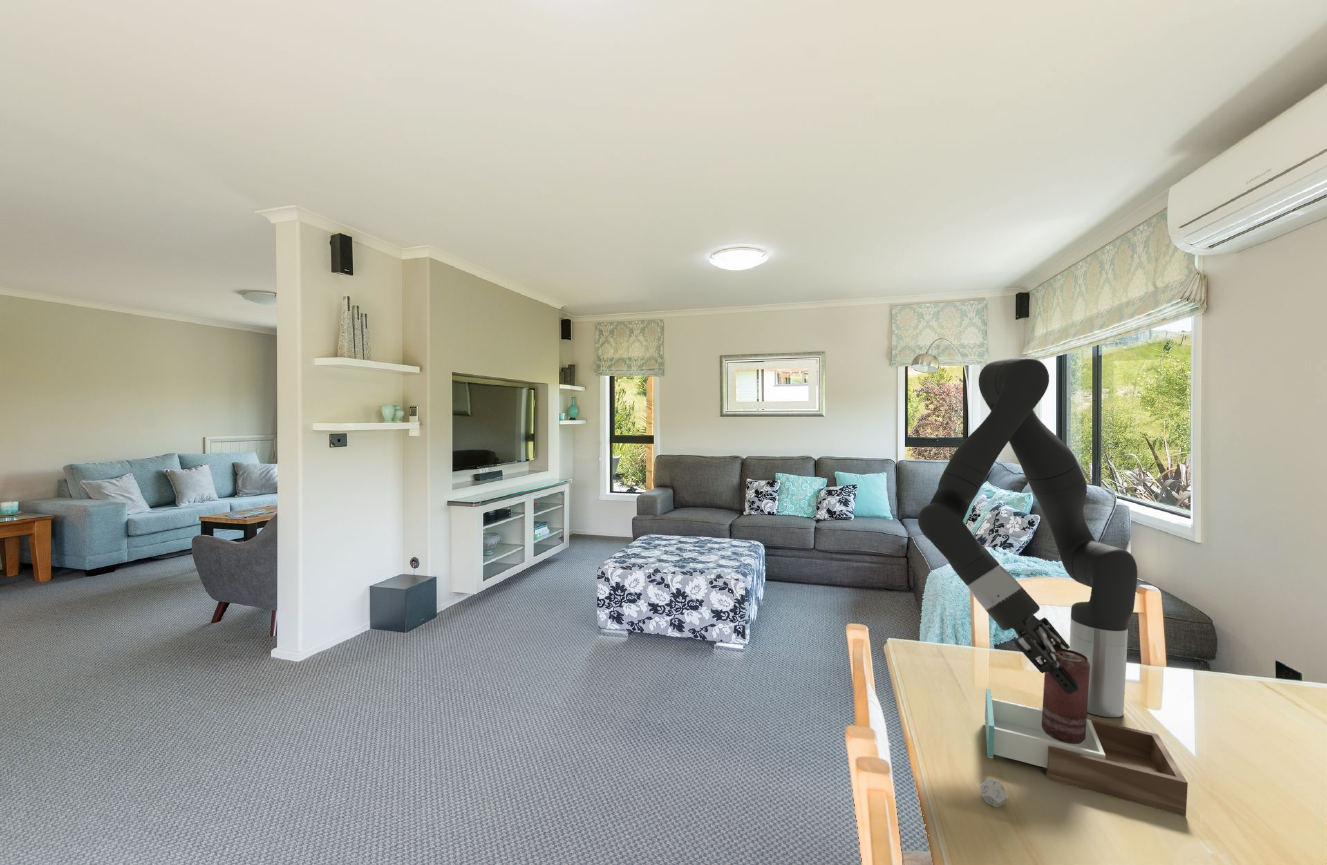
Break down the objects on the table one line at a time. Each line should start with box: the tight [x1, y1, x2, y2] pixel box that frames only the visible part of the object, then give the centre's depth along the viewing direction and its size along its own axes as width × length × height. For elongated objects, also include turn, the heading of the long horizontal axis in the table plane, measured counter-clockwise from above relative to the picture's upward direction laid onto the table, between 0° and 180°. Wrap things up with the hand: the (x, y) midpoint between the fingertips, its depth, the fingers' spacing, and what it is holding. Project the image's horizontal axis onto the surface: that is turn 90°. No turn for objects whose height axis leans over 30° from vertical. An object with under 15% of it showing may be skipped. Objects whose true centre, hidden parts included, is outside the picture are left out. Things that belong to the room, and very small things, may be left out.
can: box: [1041, 648, 1090, 744], centre depth 97 cm, size 6×6×14 cm
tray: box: [984, 688, 1105, 769], centre depth 99 cm, size 15×16×5 cm
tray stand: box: [1038, 708, 1188, 817], centre depth 95 cm, size 15×17×5 cm
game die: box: [979, 778, 1009, 808], centre depth 86 cm, size 4×4×3 cm
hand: (1077, 684), depth 96 cm, fingers closed on can, 6 cm apart
